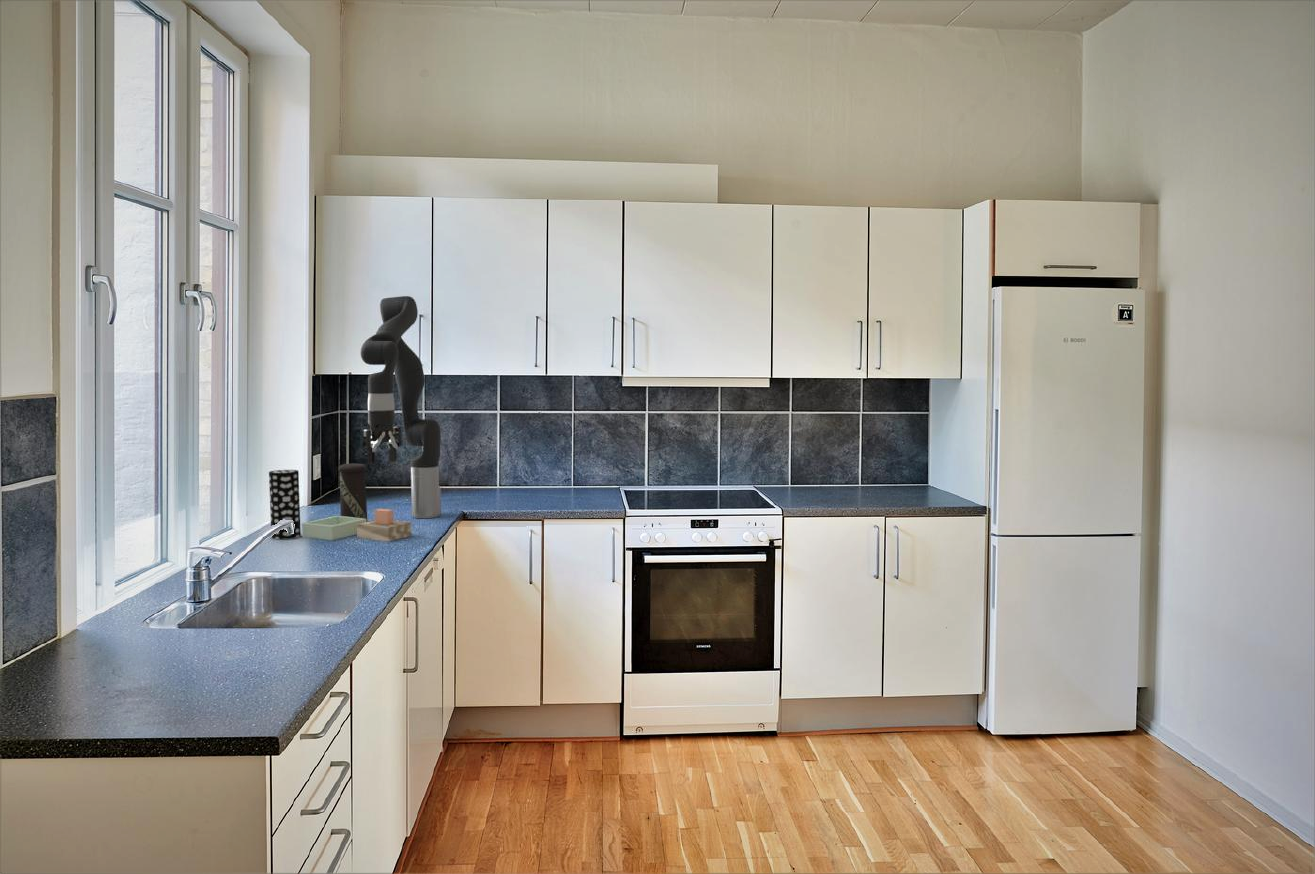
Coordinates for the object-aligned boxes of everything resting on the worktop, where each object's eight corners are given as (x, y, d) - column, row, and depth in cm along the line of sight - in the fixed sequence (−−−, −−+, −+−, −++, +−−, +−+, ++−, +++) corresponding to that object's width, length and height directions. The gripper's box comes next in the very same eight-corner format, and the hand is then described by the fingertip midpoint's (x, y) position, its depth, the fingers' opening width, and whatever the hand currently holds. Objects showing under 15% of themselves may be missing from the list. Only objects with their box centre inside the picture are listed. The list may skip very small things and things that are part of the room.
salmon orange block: (381, 534, 277) (380, 508, 276) (393, 536, 275) (393, 510, 274) (375, 536, 275) (374, 510, 274) (388, 537, 273) (387, 511, 272)
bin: (337, 531, 287) (337, 515, 287) (366, 534, 282) (366, 518, 282) (302, 539, 275) (302, 523, 274) (332, 543, 270) (331, 526, 269)
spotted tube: (306, 534, 282) (304, 470, 280) (288, 540, 274) (286, 473, 272) (283, 533, 284) (281, 469, 282) (265, 538, 276) (262, 472, 275)
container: (334, 526, 296) (332, 464, 294) (350, 521, 304) (348, 461, 302) (358, 527, 294) (356, 465, 292) (373, 522, 302) (371, 462, 300)
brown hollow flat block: (381, 534, 282) (380, 517, 282) (411, 538, 277) (411, 521, 276) (357, 540, 273) (356, 523, 273) (388, 544, 268) (387, 526, 267)
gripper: (388, 407, 279) (389, 459, 281) (353, 409, 267) (355, 464, 268) (407, 407, 276) (408, 461, 277) (373, 410, 263) (374, 466, 265)
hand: (382, 463), depth 273 cm, fingers open, 8 cm apart
